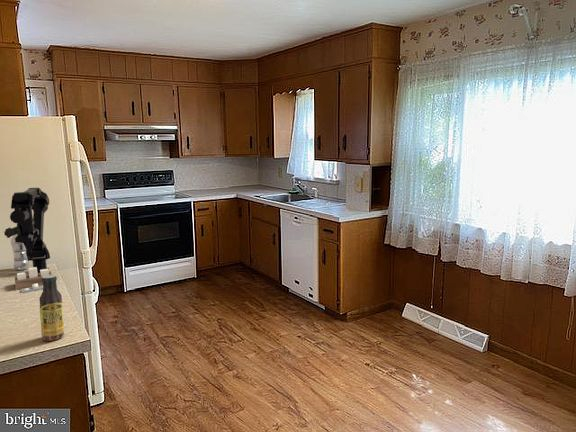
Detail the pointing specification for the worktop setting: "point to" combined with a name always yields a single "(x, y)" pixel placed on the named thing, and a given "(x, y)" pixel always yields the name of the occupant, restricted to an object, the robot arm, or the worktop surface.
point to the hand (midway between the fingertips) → (29, 253)
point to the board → (29, 281)
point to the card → (32, 288)
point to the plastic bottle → (19, 254)
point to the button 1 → (21, 276)
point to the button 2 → (44, 272)
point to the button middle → (33, 272)
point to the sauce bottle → (51, 310)
